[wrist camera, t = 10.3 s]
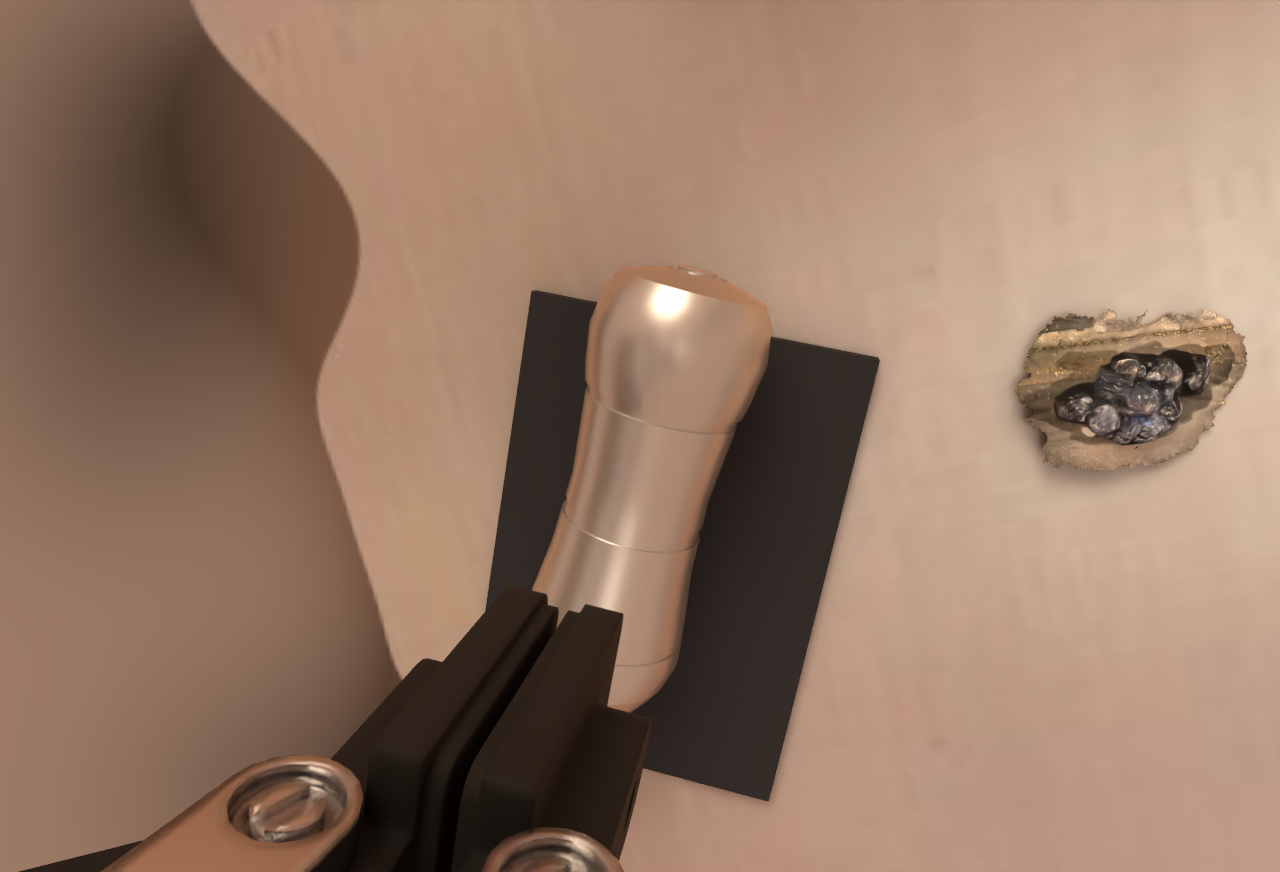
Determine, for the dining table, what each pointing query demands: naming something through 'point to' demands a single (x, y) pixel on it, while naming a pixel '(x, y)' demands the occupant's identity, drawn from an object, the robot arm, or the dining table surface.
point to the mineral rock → (1128, 386)
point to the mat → (707, 539)
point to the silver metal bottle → (652, 456)
